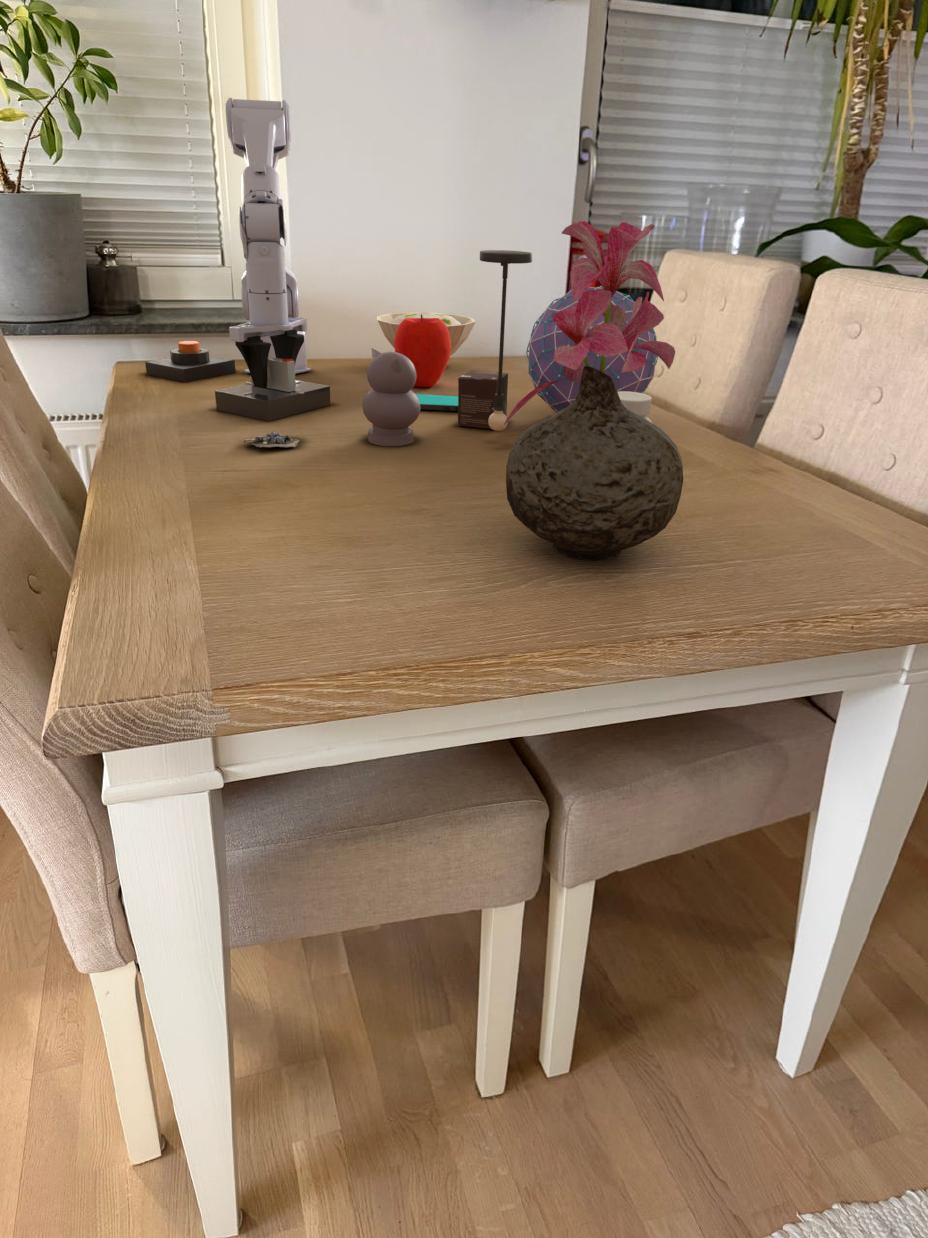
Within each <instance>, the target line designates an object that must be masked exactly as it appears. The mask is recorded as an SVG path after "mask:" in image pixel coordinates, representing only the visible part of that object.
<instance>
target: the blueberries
mask: <svg viewBox="0 0 928 1238" xmlns="http://www.w3.org/2000/svg"><path fill="white" fill-rule="evenodd" d="M300 442H301V440H300V439H298V438H292V437H290V436H289V435H288V434H285V435H282V434H281V433H276V431H272V432H271V433H266V435H263V436H262V435H259V436H256V437H248V438H245V439H244V440H243V444H248V445H253V446H255V447H256V448H260V449H261V448H275V447H279V448H297V447H298V444H299V443H300Z"/></svg>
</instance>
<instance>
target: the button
mask: <svg viewBox="0 0 928 1238" xmlns="http://www.w3.org/2000/svg"><path fill="white" fill-rule="evenodd" d="M177 344H178V345H177V346H178V348H179V352H183V353H193V352H200V348H201V347H200V342H199V341H196V340H183V341H179V342H178V343H177Z"/></svg>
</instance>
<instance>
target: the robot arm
mask: <svg viewBox="0 0 928 1238" xmlns="http://www.w3.org/2000/svg"><path fill="white" fill-rule="evenodd" d="M224 104H225V120H226V121H225V122H226V133H227V139H228V140H229V145H230V149H231V150H232V154H234V155H235V156H238V157H240V158H243V159H244V161H245V164H246V167H245V168H244V169H243V170H242V173H241V176H240V183H241V186H240V187H241V206H239V207H238V224H239V236H240V241H241V244H242V248H243V251H242V252H243V258H244V260H245V271H244V272H242V276H241V280H240V281H241V290H240V291H241V306H242V316H243V318H244V319H245V320H246V321H248V322H244V323H241V324H238V325H233V326H229V327H228V330H229V331H228V332H229V341H230V342H234V344H235V347H236V348H237V349H238V352H240V354H241V356H242V358H243V360H244V362H245V364H246V367H247V368H246V369H244V373H246V374H250V378H251V377H252V381H253V384H254V387H259V388H267V382H268V376H267V364H268V357H274V358H280V359H293V361H294V364H295V375H296V374H302V373H305V372H311V368H310V367H308V362H307V340H306V338H307V337H306V334H305V332H308V320H307V318H305V317H300V307H299V288H298V281H297V277H296V275H295V273H294V272H293V271H291V269H289V268H288V267H286V252H285V247H286V246H287V240H288V236H287V235H288V234H287V220H286V210H285V206H284V201H283V199H282V186H281V185H282V184H281V181H282V180H281V176H280V174H279V172H278V171H277V166H278V164H279V160H281V159H284V158H287V157H288V156H289V154H290V151H291V141H292V135H291V115H290V112H291V111H290V105H289V103H288V102H287V100H285V99H284V100H282V101H281V100H279V101H278V100H261V99H239V98H232V97H228V98H227V100H226V101H225V103H224ZM281 239H282V240H283V242H284V246H283V245H282V244H281Z"/></svg>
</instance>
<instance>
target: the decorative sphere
mask: <svg viewBox="0 0 928 1238" xmlns="http://www.w3.org/2000/svg"><path fill="white" fill-rule="evenodd" d="M587 290H603V288H602V285H600V286H596V287H595V286H593V287H592V286H590V287H589V288H588V289H587ZM587 290H586V291H587ZM586 291H585V292H586ZM581 296H582V295H581ZM581 296H580V297H581ZM580 297H579V298H578V299H577V300H576V301H574V300H573V295H572V289H571V290H569V291H567V293H565V294H564V295H563V296H561V297H559V298H555V299H552V302H551V303H550V304H549V305H548V306H547V307H546V309H545V310H544V311H543V312H542V313H541V315H540V316H538V318H537V319H536V321H535V322H533V326H532V330H531V333H530V337H529V341H528V343H527V347H526V351H525V354H526V357H527V362H528V367H527V370H528V371H527V375H528V376H529V378H530V380H531V381H532V383H533V387H534V389H535V388H537V387H538V386H541V385H543V384H545V383H549V382H553V381H558V382H556V383H554V384H552V385H550V386H548V387H546V388H545V389H543V390H541V391H540V392H538V393H537V394H536V395H537V396H539V398H541V400H542V401H543V402H545V403H546V404H547V406H548V407H549V408H551V410H553V412H554V414H555V413H557V412H559V411H561V410H563V409H565V408H567V407H568V406H569V405H570V404H572V403H573V402H574V401H575V399H576V397H577V394H578V392H579V387H580V383H578V382H572V381H570V380H568V379H567V378H566V377H565V375H564V367H565V366H563V365H561V364H559V363H557V362H555V359H554V354H555V351H556V350H557V349H558V348H559V346H565V345H568V346H574V342H573V341H572V340H571V339H570V338H569V337H568V336H567V335H565V334H564V333H563V332H562V331H561V330H560V328H559V327H558V326H557V325H556V323H555V322H554V320H553V318H552V316H553V314H555V313H557V312H559V311H561V310H563V309H566V308H569V307H572V306H574V305H576V304H577V303H578V301H579V299H580ZM635 301H636V300H634V299H633V298H632V297H631V296H630V294H626V293H622V292H621V291H620V292H619V291H618V290H617V291H616V292H615V294H614V295H613V297H612V298H611V305H617V306H619V307H621V308H622V309H623V310H624V311H625V313H626V318H627V321H626V322H625V324H624V326H623V328H624V327H625V326H626V325H627V324H628V322H629V321H630V319H631V317H632V314H633V311H632V310H631V307H632V306H633V305H634V303H635ZM640 307H641V306H640ZM639 309H640V308H639ZM604 321H605V316H603V315H602V314H601V315H600V316H599V317H598V319H597V320H596V321H595V322H594V323H593V324H592V325H591V326H590V328H589V330H588V331H587V333H588V332H589V331H590V330H591V329H592V328H593V327H594V326H595V325H599V324H602V323H604ZM609 323H611V322H610V320H609ZM623 328H622V329H623ZM622 329H621V330H622ZM587 333H586V334H587ZM585 336H586V335H585ZM657 339H658V337H657V333H656V332H655V328H653V329H651V330H650V331H648V332H646V333H644V334H642V335H640V336H638V339H637V342H636V344H637V343H642V342H648V341H653V340H655V341H658V340H657ZM579 343H580V342H579ZM633 351H637V352H641V353H642V354H643V355H645V356H646V363H645V365H644V366H643V367H642V368H641V369H639V370H636V371H629V372H621V371H622V367H623V364H624V361H625V358H626V355H627V354H623V353H621V354H618V355H615V356H612V357H606V360H605V371H604V373H605V374H607V375H608V376H610V377H611V378H612V380H613V382H614V384H615V386H616V389H617V392H619V391H628V392H638V393H643V394H645V392H646V390H647V389H648V388H649V385H650V383H651V382H652V381H653V379H654V378H655V372H656V366H657V363H658V360H659V357H658V356H657V355H655V354H654V353H652V352H651V351H647V350H643V349H639V348H638V349H634V350H633ZM586 358H587V360H588V362H589V365H590V367H592V368H595V369H597V370H599V371H600V364H601V356H600V355H597V354H595V353H593V352H590V351H589V352H588V354H587V356H586ZM582 365H583V368H584V366H585V364H584V362H583V361H582Z"/></svg>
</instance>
